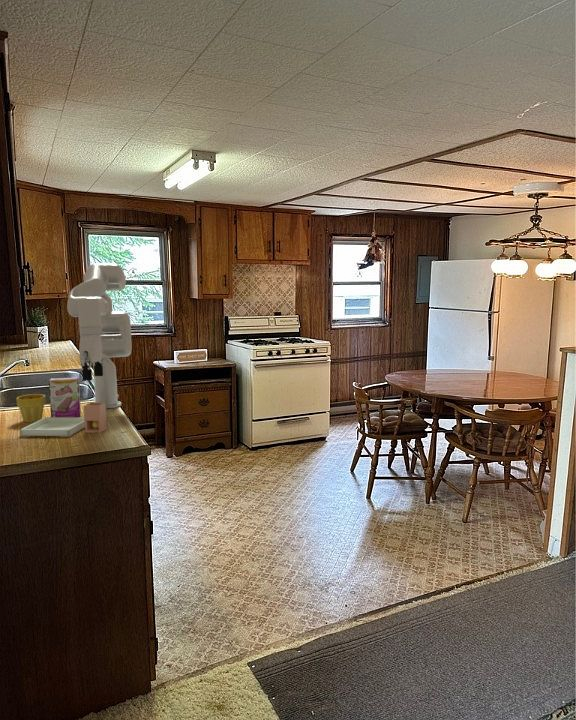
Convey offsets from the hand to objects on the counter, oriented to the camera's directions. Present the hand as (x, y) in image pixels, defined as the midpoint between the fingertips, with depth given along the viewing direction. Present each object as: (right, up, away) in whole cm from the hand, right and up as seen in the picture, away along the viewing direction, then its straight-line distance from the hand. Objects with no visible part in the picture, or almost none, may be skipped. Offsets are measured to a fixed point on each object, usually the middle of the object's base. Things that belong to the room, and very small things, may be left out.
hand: (93, 378), depth 191 cm
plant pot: (-31, -18, +18) cm, 40 cm away
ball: (0, -17, +2) cm, 18 cm away
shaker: (0, -20, +3) cm, 20 cm away
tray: (-15, -20, +3) cm, 25 cm away
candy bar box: (-19, -17, +21) cm, 33 cm away
